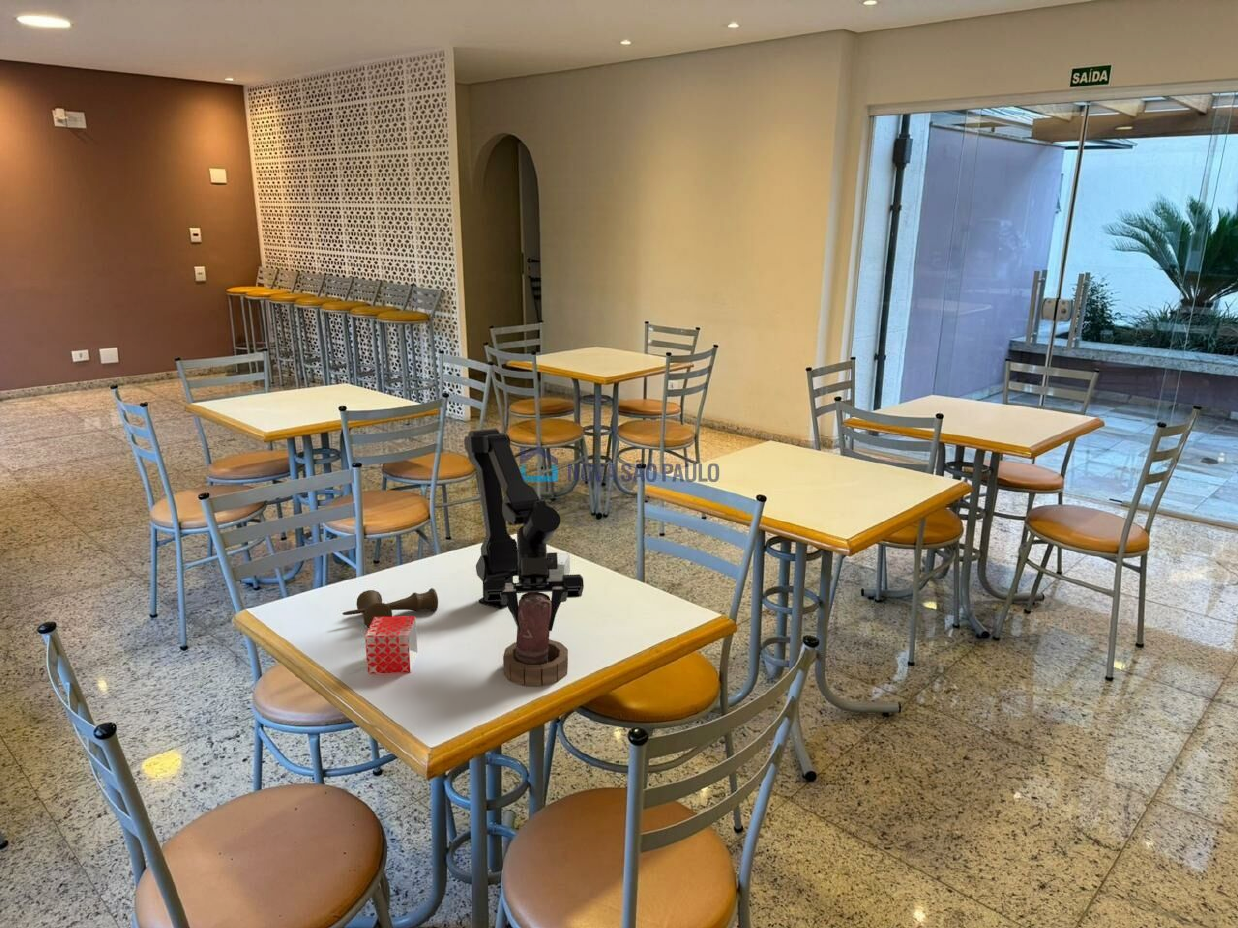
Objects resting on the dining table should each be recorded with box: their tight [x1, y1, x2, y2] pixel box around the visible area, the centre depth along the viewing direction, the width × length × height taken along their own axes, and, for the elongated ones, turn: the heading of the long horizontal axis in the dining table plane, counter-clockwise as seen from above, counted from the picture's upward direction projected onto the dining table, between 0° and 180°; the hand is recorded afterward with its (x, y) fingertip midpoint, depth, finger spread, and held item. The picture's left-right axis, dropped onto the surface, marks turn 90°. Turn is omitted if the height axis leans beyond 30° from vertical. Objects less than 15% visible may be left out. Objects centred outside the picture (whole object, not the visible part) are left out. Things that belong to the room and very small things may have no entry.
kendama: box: [342, 587, 439, 629], centre depth 175 cm, size 6×10×20 cm
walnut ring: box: [502, 638, 569, 687], centre depth 155 cm, size 12×12×4 cm
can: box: [515, 592, 552, 665], centre depth 153 cm, size 6×6×14 cm
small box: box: [547, 551, 571, 582], centre depth 198 cm, size 8×8×5 cm
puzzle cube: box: [364, 615, 418, 675], centre depth 156 cm, size 8×8×8 cm
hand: (535, 631), depth 152 cm, fingers closed on can, 5 cm apart
